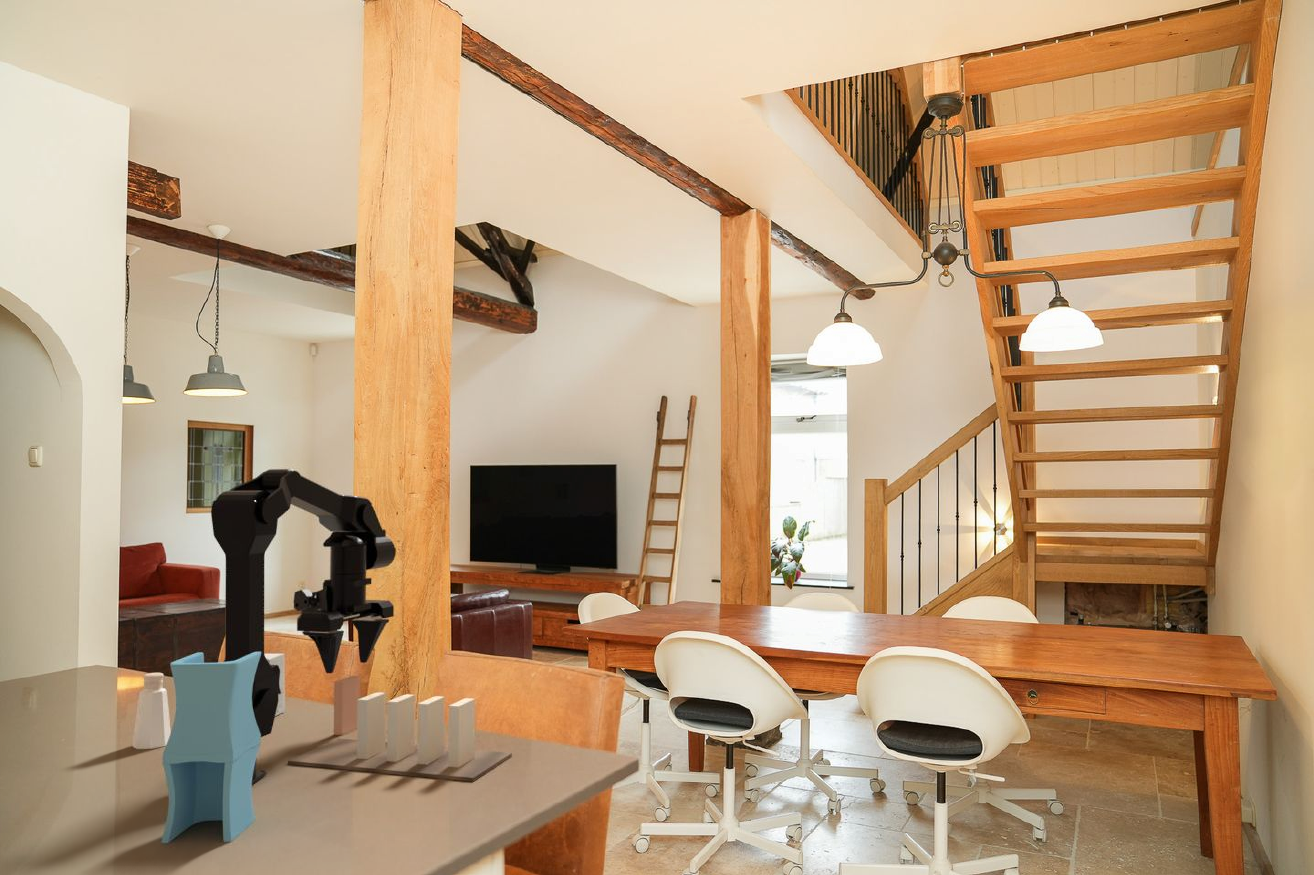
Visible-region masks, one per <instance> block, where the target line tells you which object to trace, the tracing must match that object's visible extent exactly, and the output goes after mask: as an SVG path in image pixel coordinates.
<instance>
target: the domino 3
mask: <svg viewBox="0 0 1314 875" xmlns="http://www.w3.org/2000/svg"><path fill="white" fill-rule="evenodd" d="M445 699H446V697H445V696H439V695H437V696H436V695H435V696H432V697H430V698H428V699H425V700H423V701H421V702H418V703H417V745H418V746H417V764H426V765H428V764H429V763H431V762H433V761H435V760H436V759H438V758H440V757H442V756H444V747H445V738H446V737H445V736H446V734H445V727H446V726H445V723H446V722H445V720H446V716H445V715H446V714H445V713H446V712H445V708H446V707H445V704H446V701H445Z"/></svg>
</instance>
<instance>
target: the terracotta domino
mask: <svg viewBox="0 0 1314 875" xmlns="http://www.w3.org/2000/svg"><path fill="white" fill-rule="evenodd" d="M333 682H334V683H333V697H334V698H333V735H335V736H344V735H346V734H349V733H351V732H353V731H356V730H357V721H358V699H360V698H361V676H360V675H351V676H348V677H344V678H340V679H339V680H336V681H333Z"/></svg>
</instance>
